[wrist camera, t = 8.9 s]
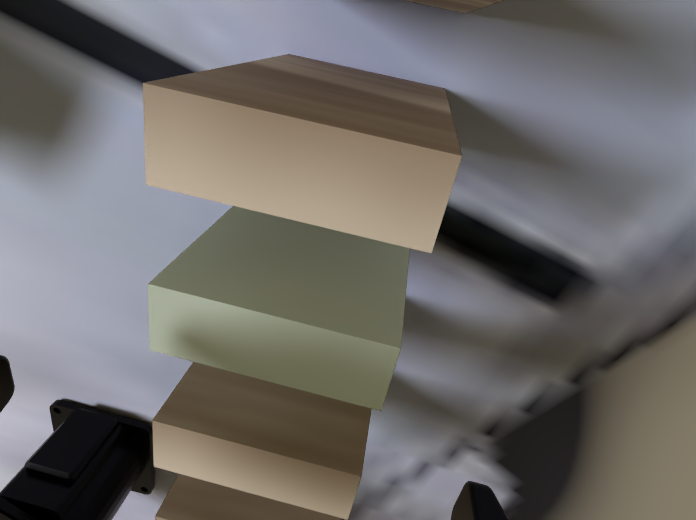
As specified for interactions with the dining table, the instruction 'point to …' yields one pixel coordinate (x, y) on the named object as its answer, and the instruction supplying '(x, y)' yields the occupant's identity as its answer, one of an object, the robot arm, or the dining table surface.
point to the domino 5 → (457, 4)
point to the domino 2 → (285, 305)
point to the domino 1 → (307, 145)
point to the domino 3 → (263, 439)
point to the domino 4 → (226, 504)
